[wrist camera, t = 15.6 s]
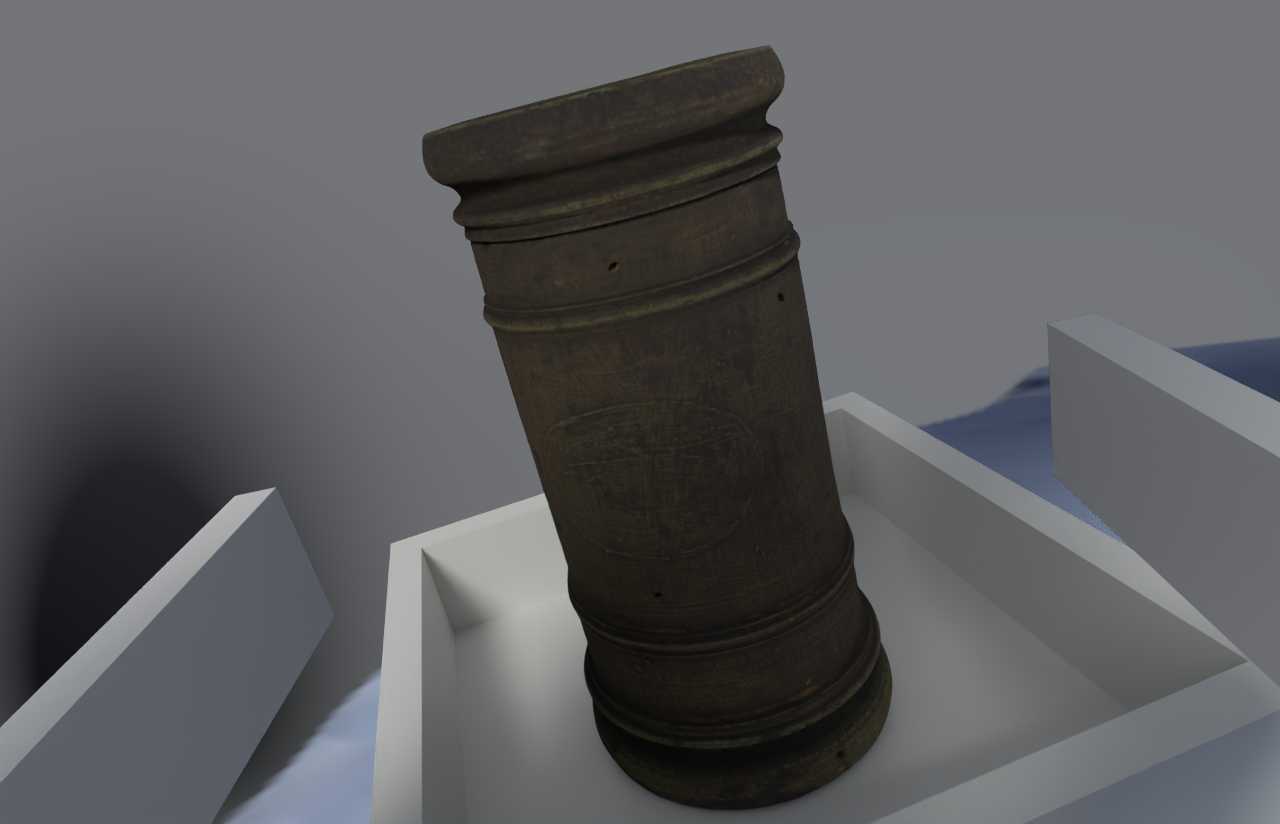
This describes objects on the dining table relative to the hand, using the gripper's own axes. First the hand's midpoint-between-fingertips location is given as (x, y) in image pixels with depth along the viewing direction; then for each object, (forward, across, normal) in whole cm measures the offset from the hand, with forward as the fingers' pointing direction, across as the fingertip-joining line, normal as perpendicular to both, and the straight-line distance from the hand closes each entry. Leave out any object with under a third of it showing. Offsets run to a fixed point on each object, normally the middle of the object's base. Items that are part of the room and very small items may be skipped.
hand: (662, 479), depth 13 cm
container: (+8, 0, -12) cm, 14 cm away
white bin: (+8, 0, -13) cm, 15 cm away
